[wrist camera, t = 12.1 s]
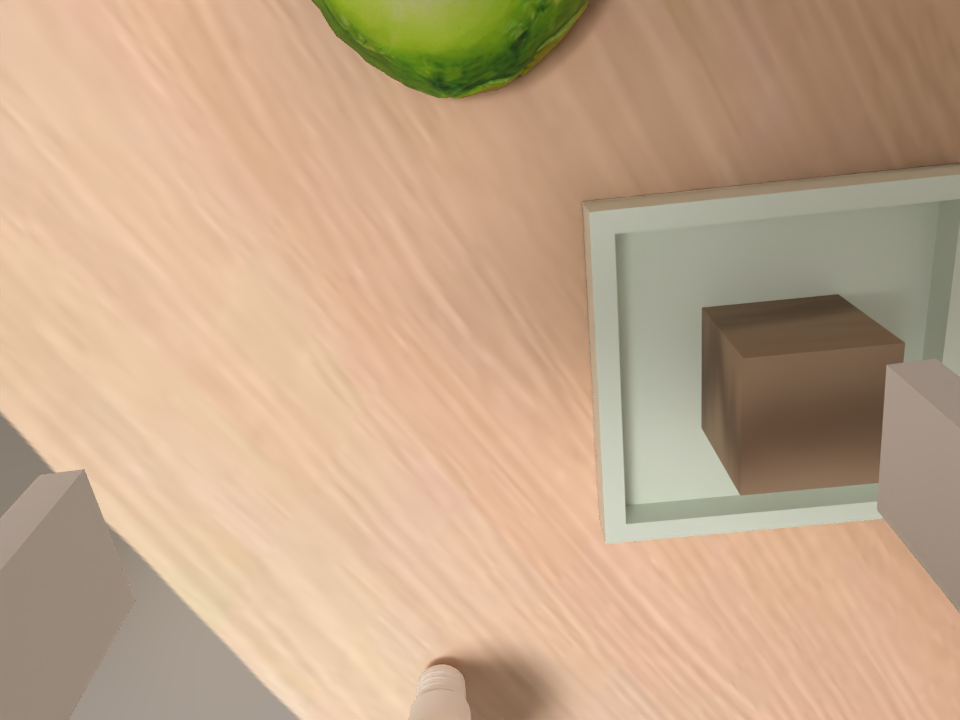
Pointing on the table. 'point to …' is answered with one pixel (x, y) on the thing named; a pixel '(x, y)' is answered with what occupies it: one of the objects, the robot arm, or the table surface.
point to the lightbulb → (440, 695)
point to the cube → (795, 392)
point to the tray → (736, 280)
